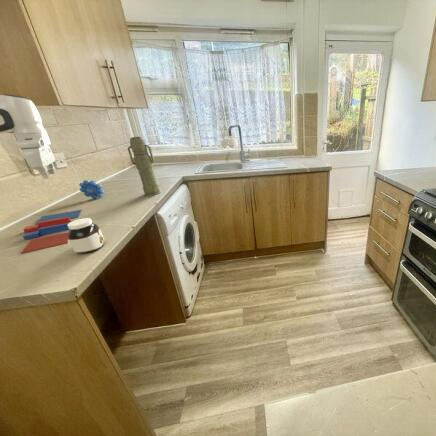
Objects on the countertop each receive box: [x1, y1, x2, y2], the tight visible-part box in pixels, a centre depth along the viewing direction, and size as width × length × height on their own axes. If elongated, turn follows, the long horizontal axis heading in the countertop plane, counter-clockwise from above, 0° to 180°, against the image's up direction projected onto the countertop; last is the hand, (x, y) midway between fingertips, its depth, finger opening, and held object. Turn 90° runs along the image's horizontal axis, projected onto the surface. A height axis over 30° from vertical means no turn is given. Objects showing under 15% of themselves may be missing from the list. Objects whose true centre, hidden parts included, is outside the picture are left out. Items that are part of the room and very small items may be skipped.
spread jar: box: [67, 217, 105, 255], centre depth 91 cm, size 12×11×12 cm
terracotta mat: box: [20, 231, 69, 255], centre depth 100 cm, size 16×12×1 cm
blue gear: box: [78, 179, 105, 200], centre depth 147 cm, size 12×7×12 cm, turn 108°
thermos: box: [127, 136, 161, 197], centre depth 147 cm, size 9×12×35 cm
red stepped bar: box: [23, 217, 72, 234], centre depth 112 cm, size 16×4×3 cm, turn 122°
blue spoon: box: [22, 223, 70, 240], centre depth 106 cm, size 16×4×3 cm, turn 122°
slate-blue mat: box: [34, 209, 83, 225], centre depth 123 cm, size 16×12×1 cm
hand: (49, 176), depth 100 cm, fingers open, 8 cm apart
